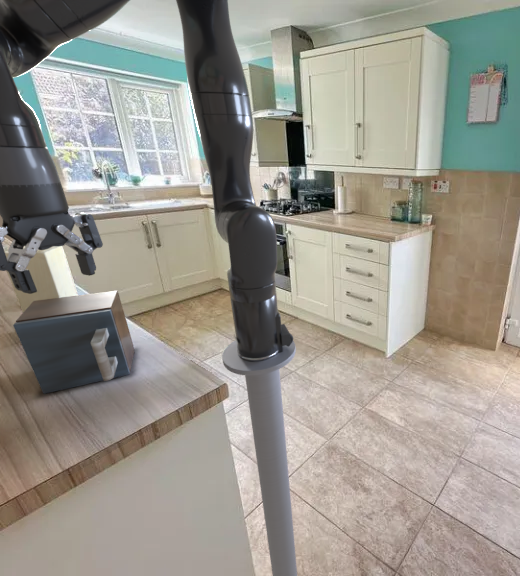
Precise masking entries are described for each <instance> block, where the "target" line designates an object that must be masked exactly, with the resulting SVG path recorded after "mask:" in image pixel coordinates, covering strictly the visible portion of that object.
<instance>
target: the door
mask: <svg viewBox="0 0 520 576" xmlns="http://www.w3.org/2000/svg"><path fill="white" fill-rule="evenodd" d="M12 326H13V329H14V331H15V334H16V335H17V337H18V340H19V342H20V344H21V346H22V348H23V351H24V354H25V355H26V358H27V360H28V362H29V365H30V367H31V369H32V371H33V374H34V376H35V378H36V380H37V382H38V385H39V388H40V389H41V392H42V394H43V395H45V394H49V393H54V392H57V391H63V390H67V389H71V388H76V387H80V386H84V385H88V384H89V385H90V384H93V383H98V382H102V381H103V382H104V381H105V382H106V381H110V380H112V379H115V378H120V377H124V376H128V375H131V374H130V373H131V370H129V367H128V363H127V360H126V357H125V354H124V350H123V347H122V344H121V340H120V337H119V334H118V330H117V327H116V324H115V321H114V317H113V314H112V311H111V309H106V310H99V311H92V312H85V313H78V314H71V315H64V316H57V317H50V318H43V319H37V320H30V321H23V322H16V321H15V322H14V324H12Z"/></svg>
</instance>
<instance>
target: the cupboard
mask: <svg viewBox="0 0 520 576" xmlns="http://www.w3.org/2000/svg"><path fill="white" fill-rule="evenodd" d="M106 309H111V311H112V314H113V317H114V321H115V324H116V327H117V330H118V334H119V337H120V340H121V344H122V347H123V350H124V354H125V357H126V360H127V363H128V367H129V370H130V371H131V370H132V365H133V360H134V357H135V356H134V355H135V349H136V348H135V345H134V342H133V339H132V335H131V332H130V327H129V324H128V322H127V317H126V314H125V311H124V308H123V304H122V300H121V298H120V293H119V291H118V290H110V291H102V292H93V293H86V294H78V295H77V296H69V297H61V298H53V299H45V300H37V301H33V302H32V303H31V304H30V306H29V307H28V308H27V309H26V310H25V311H24V312H23V311H22V313H21V314H20V315H19V317H18V318H17V319H16V320H15V323H16V322H23V321H30V320H37V319H43V318H50V317H57V316H64V315H71V314H78V313H85V312H92V311H99V310H106Z"/></svg>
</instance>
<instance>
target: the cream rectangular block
mask: <svg viewBox="0 0 520 576" xmlns="http://www.w3.org/2000/svg"><path fill="white" fill-rule="evenodd" d="M24 248H25V246H24V247H23V249H24ZM4 252H5V255H6V258H7V257H8V255H9V252H8V250H4ZM26 270H29V271H30V274H31V276H32V279H33V281H34V284H35V287H36V289H37V292H35V293H32V294H28V293H24V292H22V291H19V290H17V289H16V288H15V286H14V284H13V281H12V279H11V277H10V274H9V272H8V271H6V274H7V276H8V279H9V281H10V284H11V286H12V288H13V291H14V293H15V297H16V298H17V302H18V304H19V306H20V309H21V311H22V313H23V312H24V311H25V310H26V309H27V308H28V307H29V306H30V304H31V303H32V302H33V301H37V300H45V299H53V298H61V297H69V296H77V295H79V294H78V291H77V290H78V289H77V287H76V283H75V281H74V278H73V274H72V272H71V268H70V265H69V262H68V259H67V256H66V252H65V250H64V246H53V247H51V248H49V249H45V250H37V252H36V255H35V256H34V257H33V258H31V259H30V262H29V264H28V266H27V268H26Z"/></svg>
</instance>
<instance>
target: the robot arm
mask: <svg viewBox="0 0 520 576" xmlns="http://www.w3.org/2000/svg"><path fill="white" fill-rule="evenodd" d="M130 1H131V0H0V217H1V219H2V224H1V226H0V271H1V272H7V271H8V272H9V274H10V277H11V279H12V281H13V284H14V286H15V288H16V289H17V290H19V291H22V292H24V293H28V294H32V293H35V292H37V289H36V287H35V284H34V281H33V279H32V276H31V274H30V271H29V270H26V268H27V266H28V264H29V262H30V259H31V258H33V257H34V256H35V255H36V252H37V250H45V249H49V248H51V247H53V246H62V247H64V246H67V247H69V248H70V249H71V250H73V251H75V252H76V253H75V257H76V261H77V265H78V267H79V270H80V273H81V274H82V275H83V276H88V277H89V276H94V275H95V274H96V272H95V271H96V270H97V266H96V261H95V259H94V256H93V252H94V251H95V250H96V249H100V248H103V245H104V243H103V241H102V238H101V234H100V232H99V229H98V227H97V223H96V221H95V218H94V216H93V215H92V214H91V213H84V212H76V213H75V214H74V215H71V214H70V213H69V209H70V207H69V204H68V200H67V198H66V194H65V192H64V188H63V185H62V181H61V178H60V175H59V172H58V169H57V165H56V164H55V161H54V159H53V157H52V155H51V153H50V150H49V148H48V147H47V146H48V145H47V142H46V139H45V135H44V133H43V130H42V126H41V124H40V120H39V118H38V116H37V115H36V112H35V111H34V109H33V108H32V107H31V106H30V105H29V104H28V103H27V102H25V101H24V99H23V98H22V96H21V94H20V92H19V89H18V86H17V85H16V82H15V80H14V79H15V78H18V77H21V76H23V75H25V74H27V73H28V72H30V71H32V70H33V69H34V68H36V67H37V66H38V65H40V64H41V63H42V62H43V61H44V60H46V59H47V58H48V57H50V56H51V54H52V53H53V52H54V51H55V50H56V49H57V48H59V47H61V46H62V45H64V44H67V43H69V42H71V41H73V40H75V39H77V38H79V37H81V36H83V35H85V34H86V33H89V32H90V31H92V30H94V29H96V28H98V27H99V26H101V25H103V24H104V23H106V22H107V21H109V20H110V19H111V18H113V17H114V16H115V15H116V14H117V13H119V12H120V10H122V9H123V8H124V7H125V6H126V5H127V4H128V3H129V2H130ZM175 2H176V5H177V9H178V14H179V16H180V22H181V29H182V40H183V54H184V64H185V65H184V66H185V73H186V79H187V86H188V92H189V97H190V100H191V101H190V102H191V106H192V109H193V114H194V119H195V124H196V127H197V131H198V136H199V139H200V144H201V147H202V152H203V155H204V159H205V162H206V166H207V171H208V173H209V178H210V184H211V193H212V202H213V213H214V223H215V227H216V231H217V233H218V235H219V236H220V238H221V239H222V240H223V241H224V242H226V243H227V244H228V245H227V246H228V253H229V262H230V267H229V268H228V269H227V271H226V277H227V283H228V291H229V297H230V304H231V311H232V320H233V326H234V334H233V336H234V339H235V340H236V342H237V351H238V356H239V357H240V358H241V359H243V360H246V361H252V362H256V361H263V360H267V359H270V358H272V357H274V356H275V355H277V354H278V353H280V352H283V346H285V345H286V346H288V347H289V346H290V345H291V343H292V342H293V341H294V336H293V334H291V333H290V331H289V329H288V328H287V326H286V324H285V323H282V319H281V318H282V317H281V313H280V312H279V309H278V308H279V307H278V296H277V287H276V285H277V284H276V272H277V268H278V237H277V230H276V224H275V221H274V219H273V217H272V215H271V214H270V213H269V212H268V211H267V210H266V209H264V208H262V207H259V206H257V204H256V201H255V196H254V192H253V187H252V182H251V170H250V169H251V158H252V152H253V143H254V119H253V111H252V106H251V105H252V104H251V97H250V92H249V87H248V82H247V79H246V75H245V71H244V67H243V64H242V61H241V57H240V54H239V52H238V48H237V45H236V42H235V39H234V35H233V31H232V26H231V19H230V11H229V0H175ZM75 226H76V227H77V228H78V230H79V233H80V234H81V237H82V238H81V237H80V236H78V235H77V234H75V233H74V232H73V229H74V227H75ZM5 236H7V237H9V238H11V239H12V242H11V244H10V246H9V247H8V249H7V251H8V252H9V255H8V257H7V258H6V255H5V248H4V246H3V242H5ZM24 246H25V248H24V249H23V247H24ZM235 340H234V341H235Z"/></svg>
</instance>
